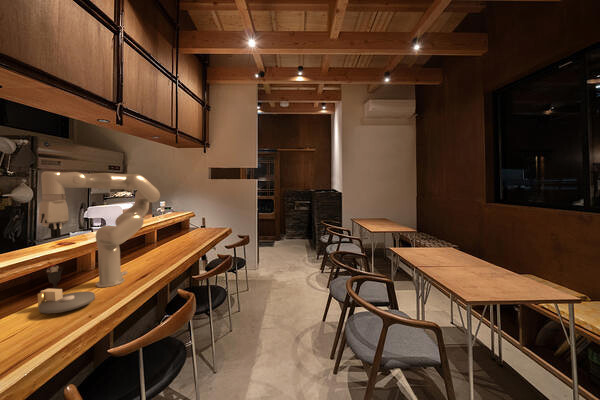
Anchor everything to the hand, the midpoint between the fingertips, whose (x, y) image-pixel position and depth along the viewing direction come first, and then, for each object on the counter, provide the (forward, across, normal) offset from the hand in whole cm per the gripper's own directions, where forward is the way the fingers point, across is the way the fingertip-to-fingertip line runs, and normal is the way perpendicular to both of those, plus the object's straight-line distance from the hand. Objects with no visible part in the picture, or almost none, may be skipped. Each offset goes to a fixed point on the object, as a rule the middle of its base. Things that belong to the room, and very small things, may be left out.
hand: (55, 237), depth 120 cm
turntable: (+27, +8, +13) cm, 31 cm away
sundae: (+29, -9, -12) cm, 33 cm away
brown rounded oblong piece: (+29, +9, +11) cm, 32 cm away
